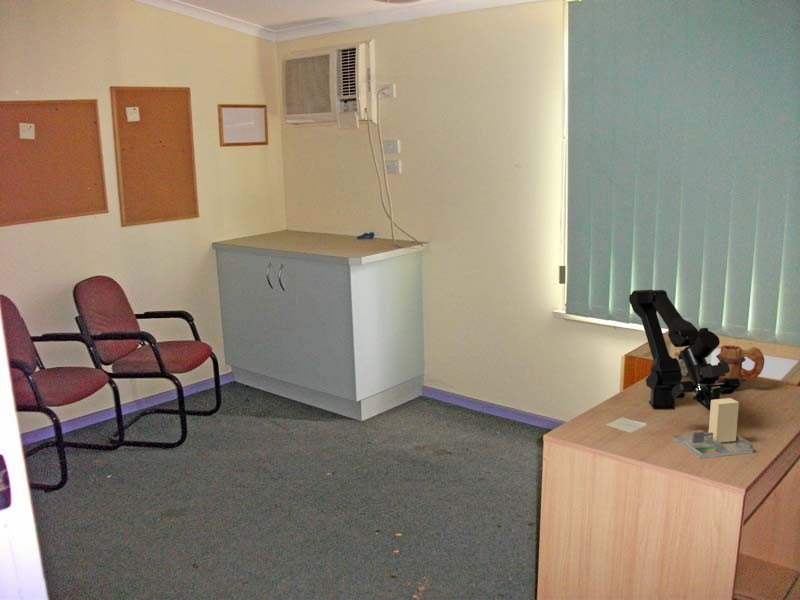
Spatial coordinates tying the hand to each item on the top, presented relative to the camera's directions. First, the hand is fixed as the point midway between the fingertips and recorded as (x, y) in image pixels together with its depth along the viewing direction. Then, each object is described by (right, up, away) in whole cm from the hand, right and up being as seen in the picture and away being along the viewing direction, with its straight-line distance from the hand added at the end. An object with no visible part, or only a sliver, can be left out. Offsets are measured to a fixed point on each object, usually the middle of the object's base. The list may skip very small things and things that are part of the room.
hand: (717, 415), depth 204 cm
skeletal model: (+15, +4, +56) cm, 58 cm away
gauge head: (-2, -6, -2) cm, 7 cm away
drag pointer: (-7, -7, -4) cm, 10 cm away
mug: (+25, +2, +42) cm, 49 cm away
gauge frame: (-2, -8, -2) cm, 9 cm away
